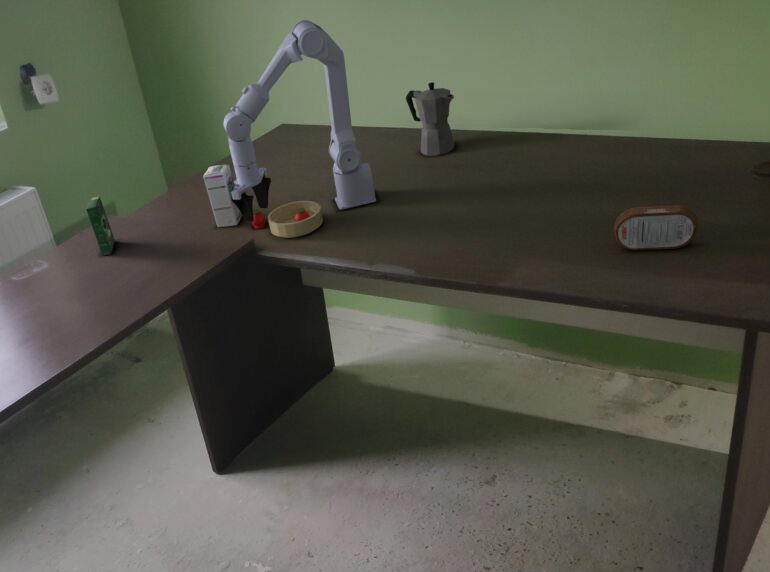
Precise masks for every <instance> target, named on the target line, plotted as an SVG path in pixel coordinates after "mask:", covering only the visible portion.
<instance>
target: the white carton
mask: <svg viewBox="0 0 770 572" xmlns="http://www.w3.org/2000/svg"><path fill="white" fill-rule="evenodd" d="M202 177H203V181H204V185H205V189H206V192H207V195H208V199H209V202H210V206H211V209H212V213H213V217H214V220H215V224H216V227H217V228H224V227H225V228H226V227H227V228H228V227H233V226H238V224H239V223H240V220H241V219H242V217H243V215H242V214H241V212H240V210H239V209H238V207H237V206H236V205H235V204H234V203H233V202H232V201H231V196H232V193H231V192H232V191H233V190H234V188H235V186H236V185H235V183H234V179H233V175H232V171H231V168H230V164H228V163H226V164H225V163H223V164H216V165H211V166H209V167H207V170H206V171H205V173H204V174H203V176H202Z"/></svg>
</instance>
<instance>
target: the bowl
mask: <svg viewBox="0 0 770 572" xmlns="http://www.w3.org/2000/svg"><path fill="white" fill-rule="evenodd" d="M301 208H304V209H305V211H307V212H308V213H309V215H310V217H309V218H307V219H304V220H302V221H298V222H296V221H295V215H296V213H297V210H298V209H301ZM267 220H268V221H267V222H268V226H269V229H270V233H271V234H272V235H274V236H276V237H280V238H283V239H284V238H285V239H292V238H298V237H302V236H303V237H304V236H306V235H308V234H310V233H312V232H314V231H315V230H317V229H318V228H319V227H320V226H321V225H322V224H323V222H324V218H323V212H322V208H321V205H320V204H319V203H318V202H317V201H313V200H297V201H292V202H287V203H284V204H282V205H279V206H277V207H275V208H274V209H272V210H271V211H270V212H269V213H268V216H267Z"/></svg>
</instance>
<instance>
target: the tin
mask: <svg viewBox="0 0 770 572" xmlns="http://www.w3.org/2000/svg"><path fill="white" fill-rule="evenodd" d="M613 227H614V228H613V229H614V237H615V240H616V242H617V243H618V244H619V245H620V246H621V247H623V248H624V249H627V250H630V251H642V250H643V251H645V250H647V251H649V250H674V249H680V248H683V247H685V246H687V245H688V244H690V243H691V242H692V241H693V240H694V238H695V237H696V235H697V233H698V227H699V219H698V216H697V214H696V213H695V211H694V210H693V209H691V208H690V207H687V206H684V205H657V206H638V207H637V206H635V207H631V208H629V209H626V210H625V211H623V212H622V213H620V214H619V216H618V217H617V218H616V220H615V222H614V226H613Z"/></svg>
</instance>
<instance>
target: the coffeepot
mask: <svg viewBox="0 0 770 572" xmlns="http://www.w3.org/2000/svg"><path fill="white" fill-rule="evenodd" d="M427 85H428V89H426V90H423V91H422V90H414V89H413V90H412V89H411V90H408V92H407V94H406V95H405V101H406V104H407V106H408V109H409V111H410V114H411V117H412V118H413V121H414V122H421V123H422V128H421V135H420V137H421V138H420V139H421V140H420V153H421V154H422V155H424V156H427V157H434V156H435V157H436V156H442V155H445V154H448V153H450V152H451V151H453V150H454V148H455V141H454V137H453V134H452V130H451V126H450V124H449V120H448V118H449V116H450V104H451V102H452V100H454V98H455V95H454V94H452V93H451V90H450V89H447V88H445V87H440V88H439V87H438V88H435V82H434V81H433V82H429V83H428V84H427ZM413 98H414V100H413ZM414 101H415V105H416V108H415V105H414ZM417 113H418V115H417Z"/></svg>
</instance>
